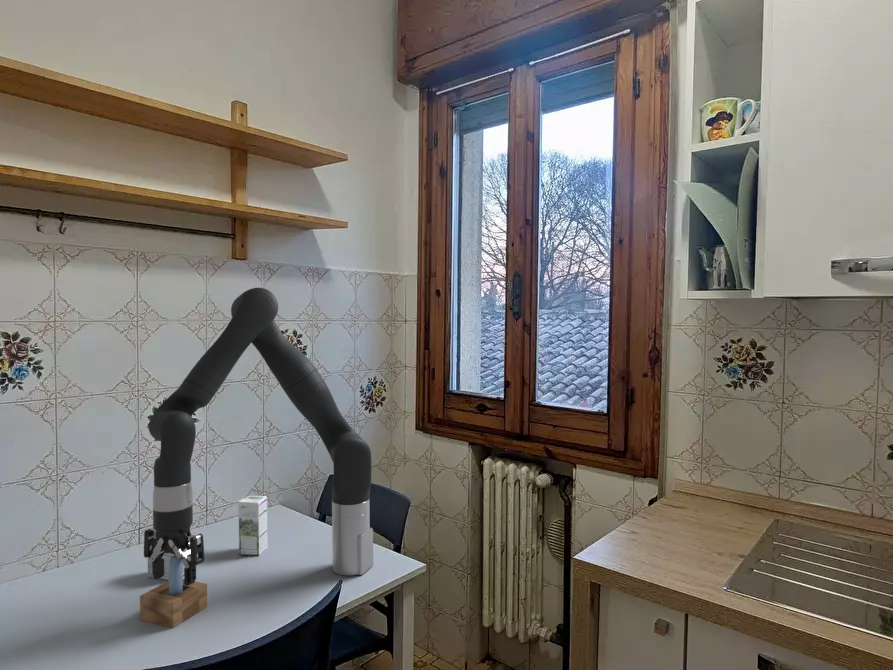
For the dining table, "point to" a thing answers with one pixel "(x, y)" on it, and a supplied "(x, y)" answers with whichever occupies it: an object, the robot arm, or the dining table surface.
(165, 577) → the medicine box
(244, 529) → the syrup box
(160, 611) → the hollow square block
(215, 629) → the dining table surface
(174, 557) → the blue rounded rod
